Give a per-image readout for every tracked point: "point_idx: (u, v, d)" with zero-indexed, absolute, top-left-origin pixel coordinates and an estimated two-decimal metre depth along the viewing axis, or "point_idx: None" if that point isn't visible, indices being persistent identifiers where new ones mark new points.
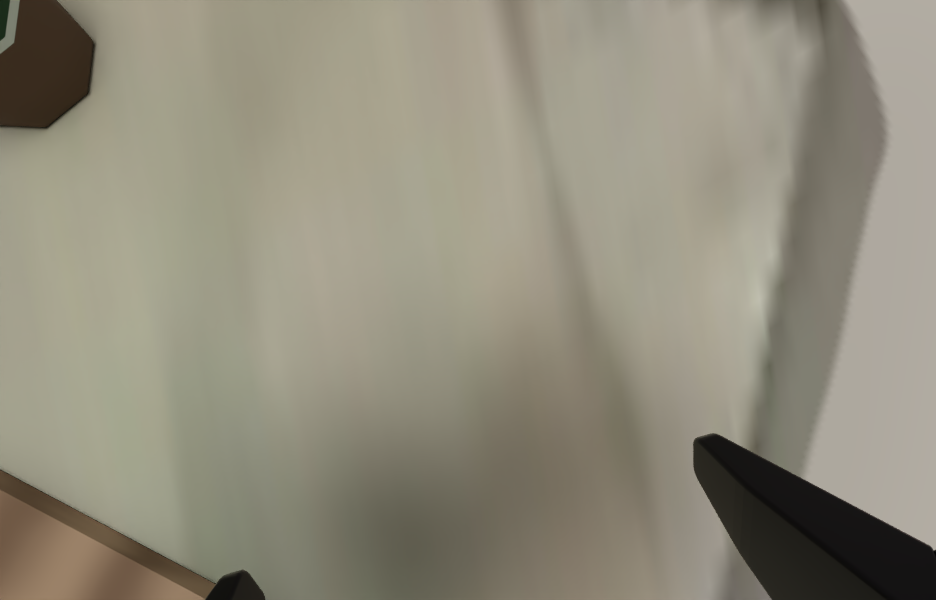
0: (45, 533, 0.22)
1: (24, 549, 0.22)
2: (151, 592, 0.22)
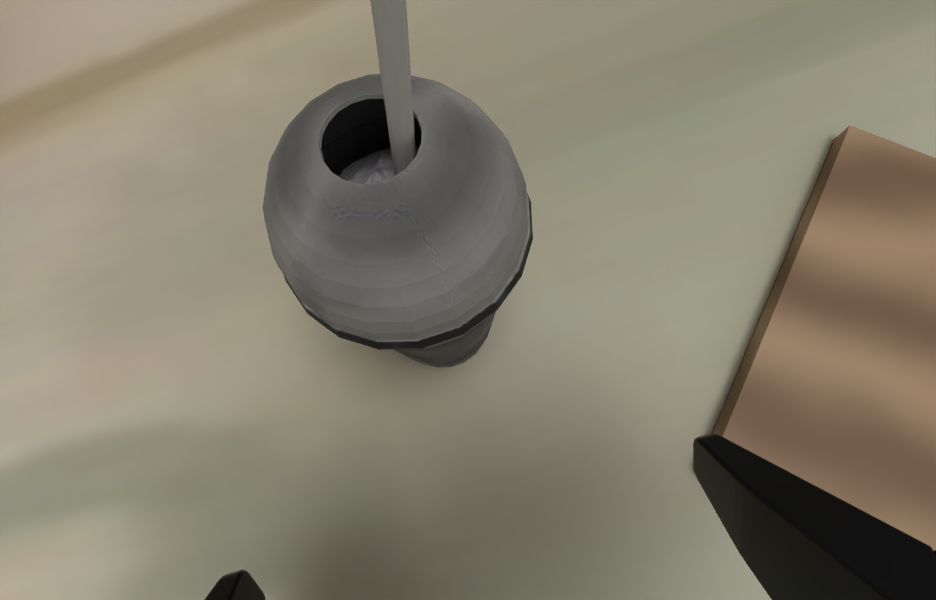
0: None
1: None
2: None
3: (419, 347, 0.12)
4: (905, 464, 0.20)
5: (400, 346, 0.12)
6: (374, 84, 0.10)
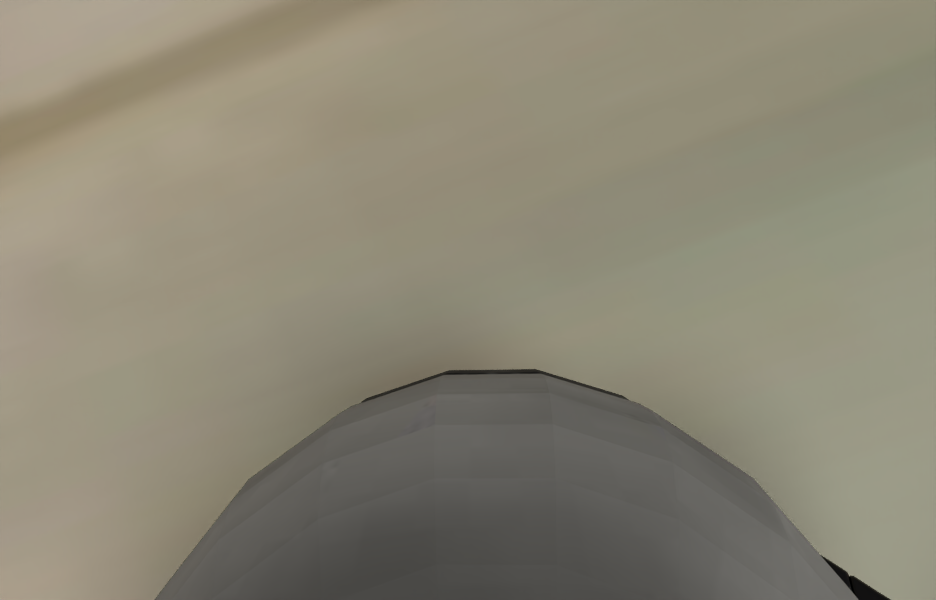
0: None
1: None
2: None
3: None
4: None
5: None
6: None
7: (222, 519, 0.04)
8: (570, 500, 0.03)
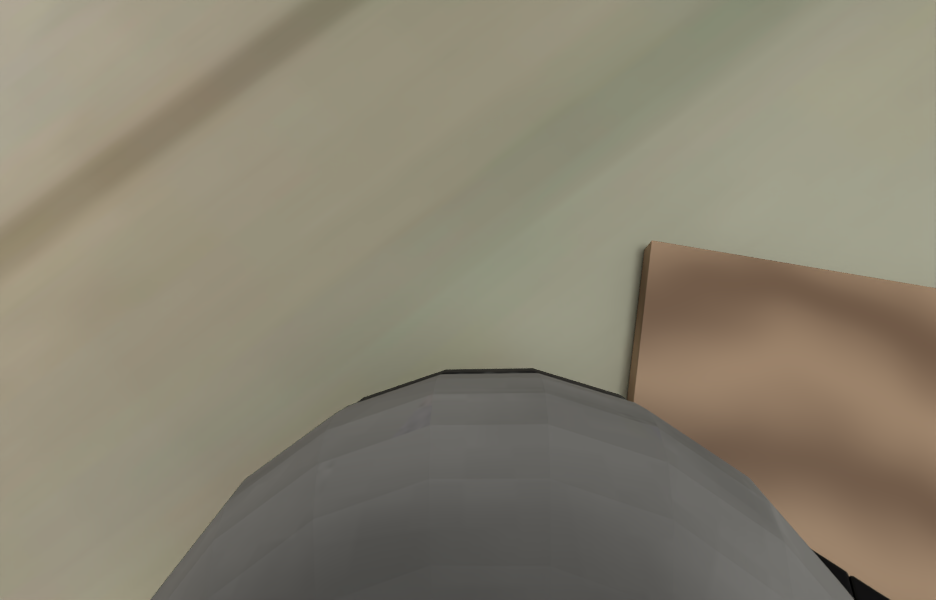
0: None
1: None
2: None
3: None
4: None
5: None
6: None
7: (217, 519, 0.04)
8: (563, 501, 0.03)
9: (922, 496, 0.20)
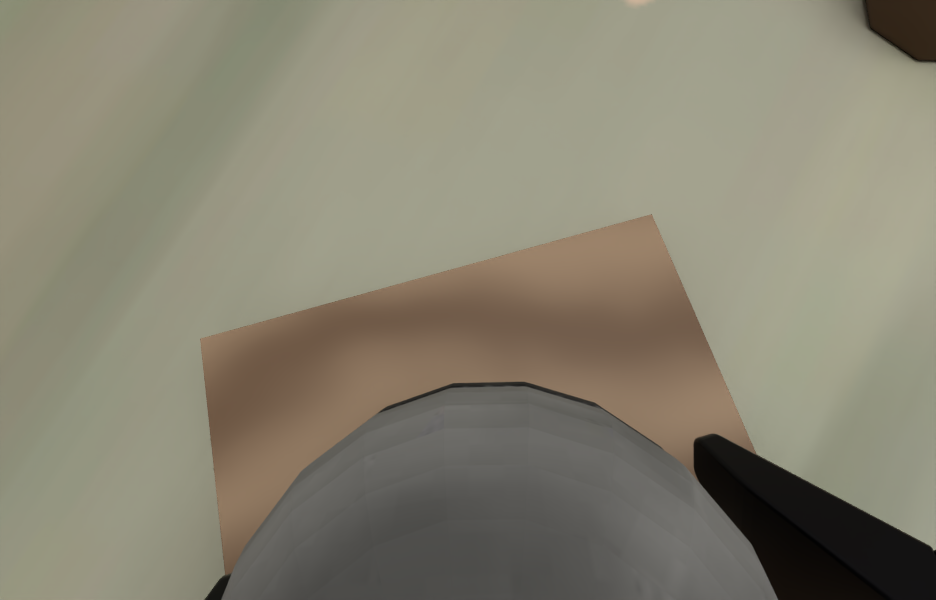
0: (698, 367, 0.19)
1: (668, 362, 0.19)
2: None
3: None
4: None
5: None
6: None
7: (289, 499, 0.05)
8: (536, 481, 0.04)
9: None
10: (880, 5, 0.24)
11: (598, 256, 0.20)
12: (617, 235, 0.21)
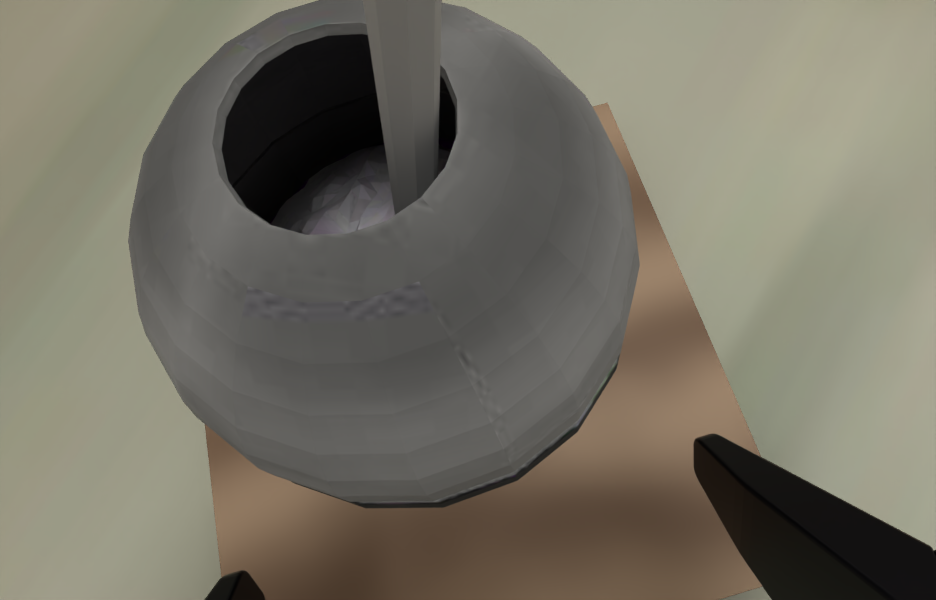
0: (646, 235, 0.20)
1: None
2: (698, 366, 0.19)
3: (439, 507, 0.07)
4: (414, 539, 0.17)
5: (405, 506, 0.07)
6: (347, 5, 0.05)
7: None
8: None
9: None
10: None
11: None
12: None
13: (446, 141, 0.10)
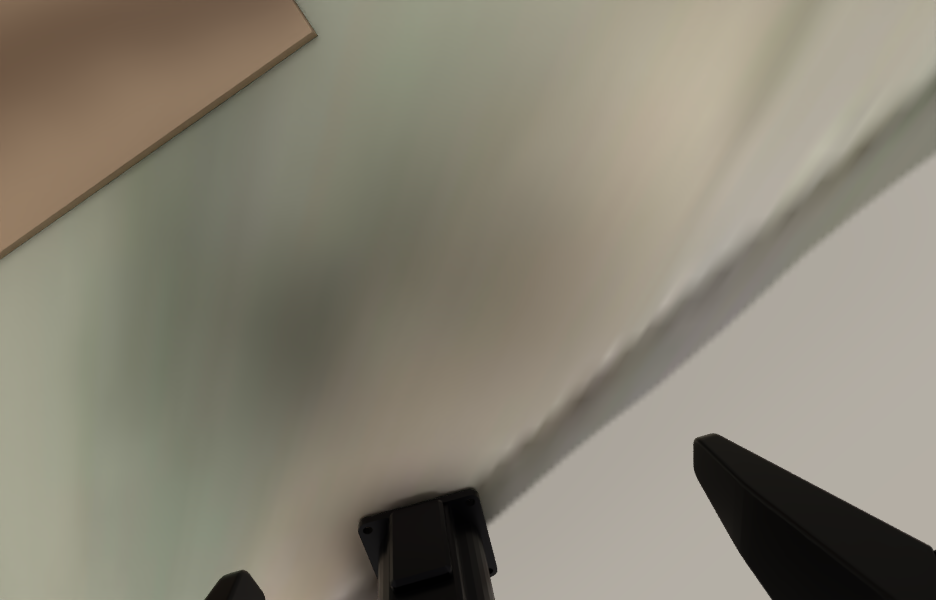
0: None
1: None
2: None
3: None
4: None
5: None
6: None
7: None
8: None
9: None
10: None
11: None
12: None
13: None
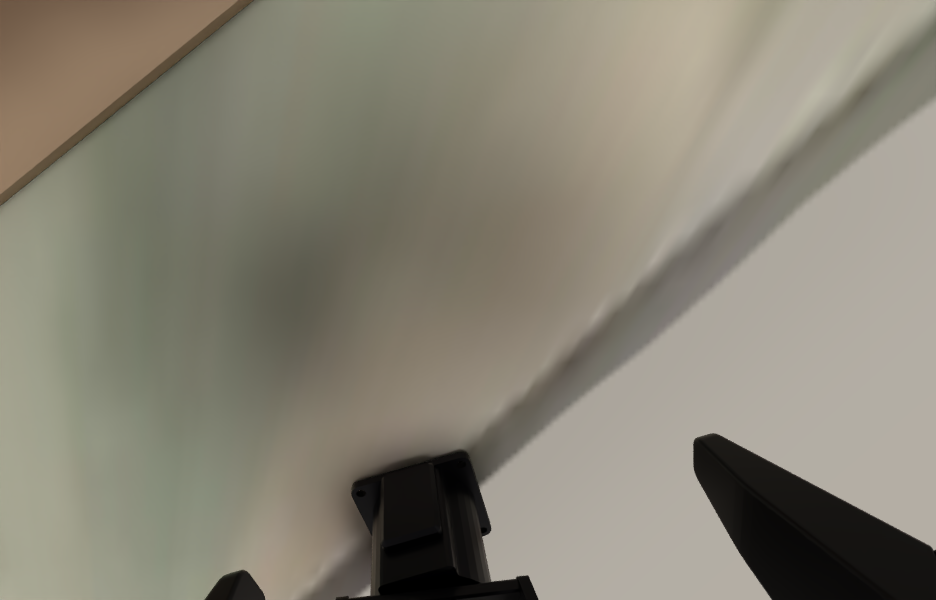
0: None
1: None
2: None
3: None
4: None
5: None
6: None
7: None
8: None
9: None
10: None
11: None
12: None
13: None
